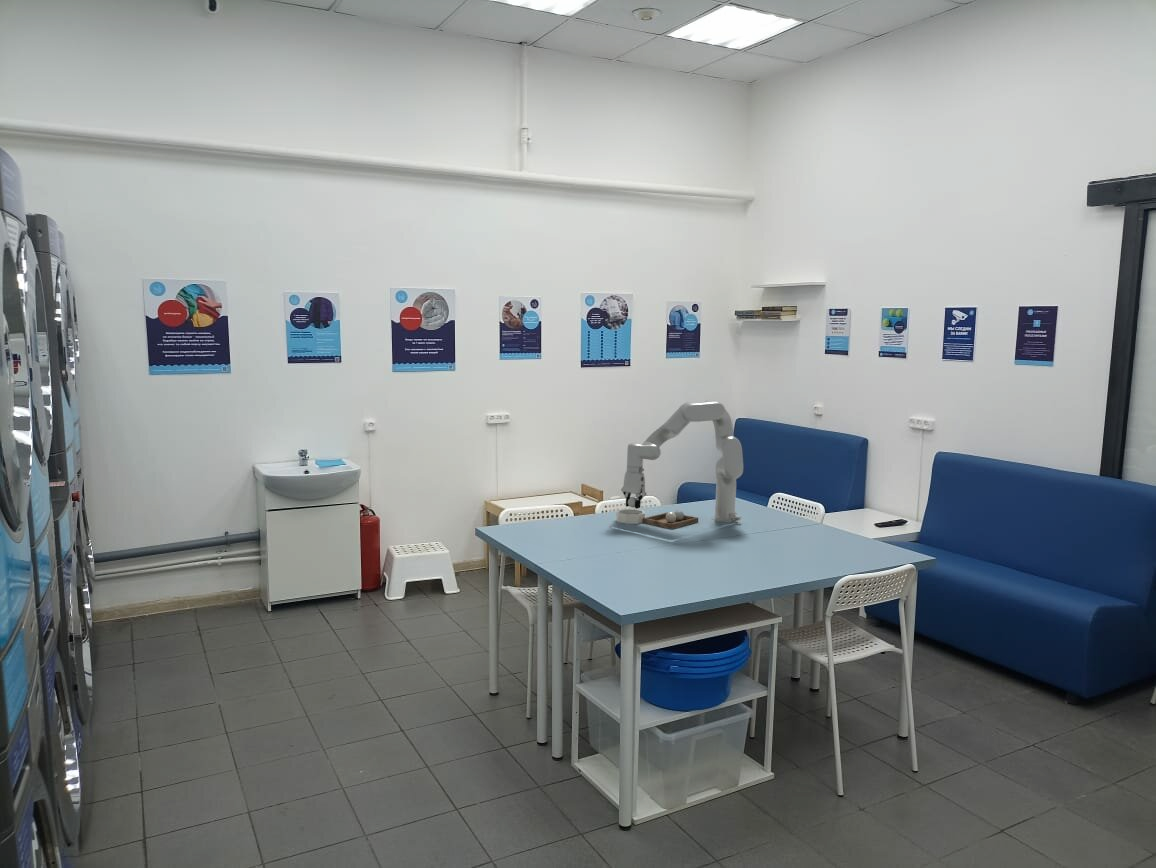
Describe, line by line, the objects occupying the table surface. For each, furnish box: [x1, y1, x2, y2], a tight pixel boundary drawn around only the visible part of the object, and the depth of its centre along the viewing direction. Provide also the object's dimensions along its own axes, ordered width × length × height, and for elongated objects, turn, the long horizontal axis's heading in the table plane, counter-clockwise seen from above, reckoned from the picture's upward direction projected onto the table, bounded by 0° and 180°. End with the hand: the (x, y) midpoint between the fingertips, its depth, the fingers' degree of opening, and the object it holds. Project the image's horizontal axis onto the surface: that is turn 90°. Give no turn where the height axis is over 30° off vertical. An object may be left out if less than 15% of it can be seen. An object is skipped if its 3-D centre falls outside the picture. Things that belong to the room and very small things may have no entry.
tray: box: [643, 511, 699, 530], centre depth 383 cm, size 17×21×3 cm
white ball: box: [628, 496, 636, 509], centre depth 386 cm, size 5×5×5 cm
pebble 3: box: [673, 509, 685, 521], centre depth 388 cm, size 5×5×5 cm
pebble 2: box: [666, 511, 676, 523], centre depth 383 cm, size 5×5×5 cm
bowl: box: [615, 508, 646, 525], centre depth 386 cm, size 13×13×5 cm
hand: (632, 506), depth 387 cm, fingers closed on white ball, 4 cm apart
